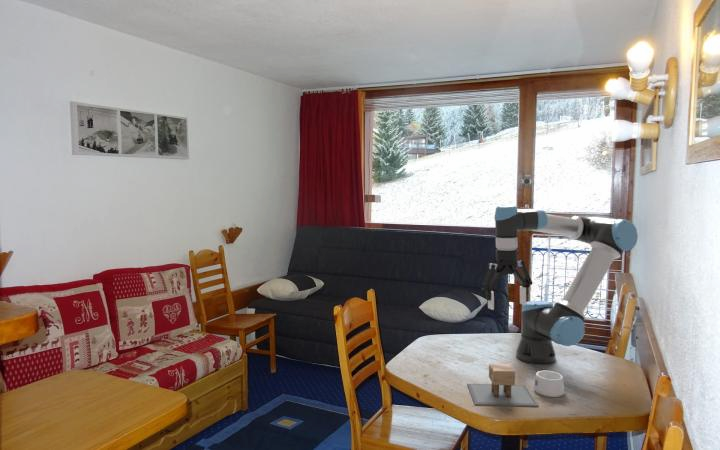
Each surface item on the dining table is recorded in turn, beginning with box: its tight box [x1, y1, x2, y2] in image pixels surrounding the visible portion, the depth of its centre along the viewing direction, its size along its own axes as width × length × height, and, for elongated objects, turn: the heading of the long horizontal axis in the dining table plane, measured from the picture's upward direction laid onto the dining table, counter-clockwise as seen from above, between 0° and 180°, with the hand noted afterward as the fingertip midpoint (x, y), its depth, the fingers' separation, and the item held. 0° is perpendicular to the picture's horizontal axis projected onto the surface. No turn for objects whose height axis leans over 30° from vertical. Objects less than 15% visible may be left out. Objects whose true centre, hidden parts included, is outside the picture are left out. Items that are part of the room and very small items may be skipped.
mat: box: [466, 383, 539, 408], centre depth 167 cm, size 20×16×1 cm
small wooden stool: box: [488, 363, 516, 398], centre depth 167 cm, size 7×7×9 cm
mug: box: [533, 370, 565, 398], centre depth 171 cm, size 12×10×6 cm
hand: (507, 306), depth 180 cm, fingers open, 13 cm apart
